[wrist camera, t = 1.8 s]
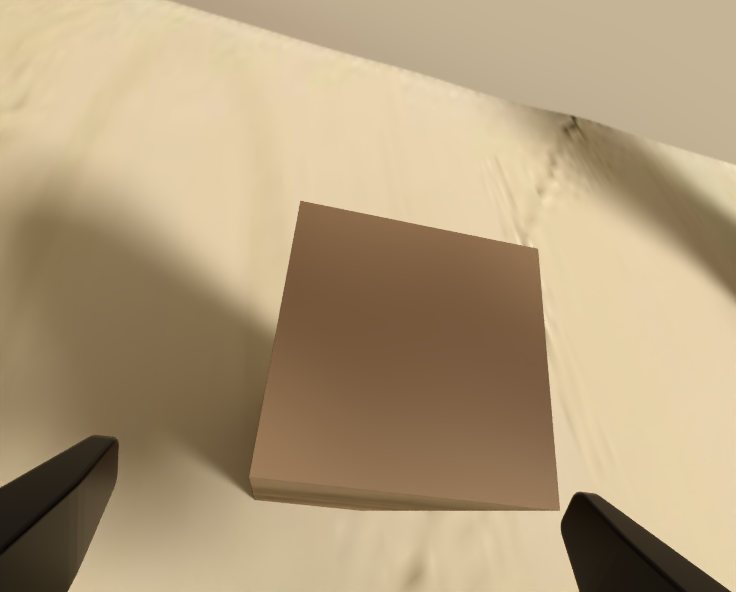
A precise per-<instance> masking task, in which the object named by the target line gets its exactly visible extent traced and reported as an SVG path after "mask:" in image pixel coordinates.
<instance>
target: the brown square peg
mask: <svg viewBox="0 0 736 592" xmlns="http://www.w3.org/2000/svg"><path fill="white" fill-rule="evenodd" d="M249 479H250V483H251V487H252V492H253V496H254V500H262V501H272V502H282V503H292V504H302V505H311V506H321V507H331V508H341V509H351V510H361V511H560V505H559V494H558V482H557V470H556V458H555V446H554V434H553V422H552V410H551V398H550V386H549V374H548V362H547V351H546V339H545V327H544V315H543V303H542V291H541V279H540V267H539V255H538V249H536V248H531V247H526V246H521V245H516V244H511V243H506V242H501V241H496V240H491V239H486V238H482V237H477V236H472V235H467V234H462V233H457V232H452V231H447V230H442V229H437V228H432V227H427V226H422V225H417V224H412V223H407V222H402V221H397V220H393V219H388V218H383V217H378V216H373V215H368V214H363V213H358V212H353V211H348V210H343V209H338V208H333V207H328V206H323V205H318V204H313V203H309V202H304V201H300V206H299V212H298V217H297V222H296V228H295V233H294V238H293V244H292V249H291V255H290V260H289V265H288V271H287V276H286V281H285V287H284V292H283V297H282V303H281V308H280V313H279V319H278V324H277V330H276V335H275V340H274V346H273V351H272V356H271V362H270V367H269V372H268V378H267V383H266V388H265V394H264V399H263V405H262V410H261V415H260V421H259V426H258V431H257V437H256V442H255V447H254V453H253V458H252V463H251V469H250V474H249Z"/></svg>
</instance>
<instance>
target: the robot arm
mask: <svg viewBox="0 0 736 592" xmlns="http://www.w3.org/2000/svg"><path fill="white" fill-rule="evenodd" d="M118 450H119V443H118V440H117V439H116V438H115V437H109V436H101V435H93V436H90V437H88V438H86V439H85V440H83V441H81V442H79V443H78V444H76V445H74V446H72V447H71V448H69V449H67V450H65V451H64V452H62V453H60V454H58V455H57V456H55V457H53V458H51V459H50V460H48V461H46V462H44V463H43V464H41V465H39V466H37V467H36V468H34V469H32V470H30V471H29V472H27V473H25V474H23V475H22V476H20V477H18V478H16V479H15V480H13V481H11V482H9V483H8V484H6V485H4V486H2V487H1V488H0V592H68V590H69V588H70V586H71V584H72V582H73V580H74V578H75V576H76V575H77V573H78V570H79V568H80V566H81V564H82V561H83V559H84V557H85V554H86V552H87V550H88V547H89V545H90V543H91V540H92V538H93V536H94V533H95V531H96V529H97V526H98V524H99V522H100V519H101V517H102V515H103V512H104V510H105V508H106V505H107V503H108V501H109V498H110V496H111V494H112V491H113V489H114V486H115V483H116V479H117V473H118ZM561 534H562V537H563V540H564V544H565V547H566V550H567V553H568V556H569V560H570V563H571V566H572V569H573V573H574V576H575V579H576V582H577V585H578V589H579V592H731V591H729V590H728V589H727V588H725V587H724V586H723V585H721V584H720V583H719V582H717V581H716V580H714V579H713V578H712V577H710V576H709V575H708V574H706V573H705V572H703V571H702V570H701V569H699V568H698V567H697V566H695V565H694V564H692V563H691V562H690V561H688V560H687V559H686V558H684V557H683V556H681V555H680V554H679V553H677V552H676V551H675V550H673V549H672V548H670V547H669V546H668V545H666V544H665V543H664V542H662V541H661V540H659V539H658V538H657V537H655V536H654V535H653V534H651V533H650V532H648V531H647V530H646V529H644V528H643V527H642V526H640V525H639V524H637V523H636V522H635V521H633V520H632V519H631V518H629V517H628V516H626V515H625V514H624V513H622V512H621V511H620V510H618V509H617V508H615V507H614V506H613V505H611V504H610V503H609V502H607V501H606V500H605V499H603V498H602V497H600V496H599V495H597V494H594V493H587V492H577V493H575V494H574V495H573V497H572V499H571V501H570V503H569V505H568V508H567V510H566V512H565V514H564V516H563V518H562V521H561Z"/></svg>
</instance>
